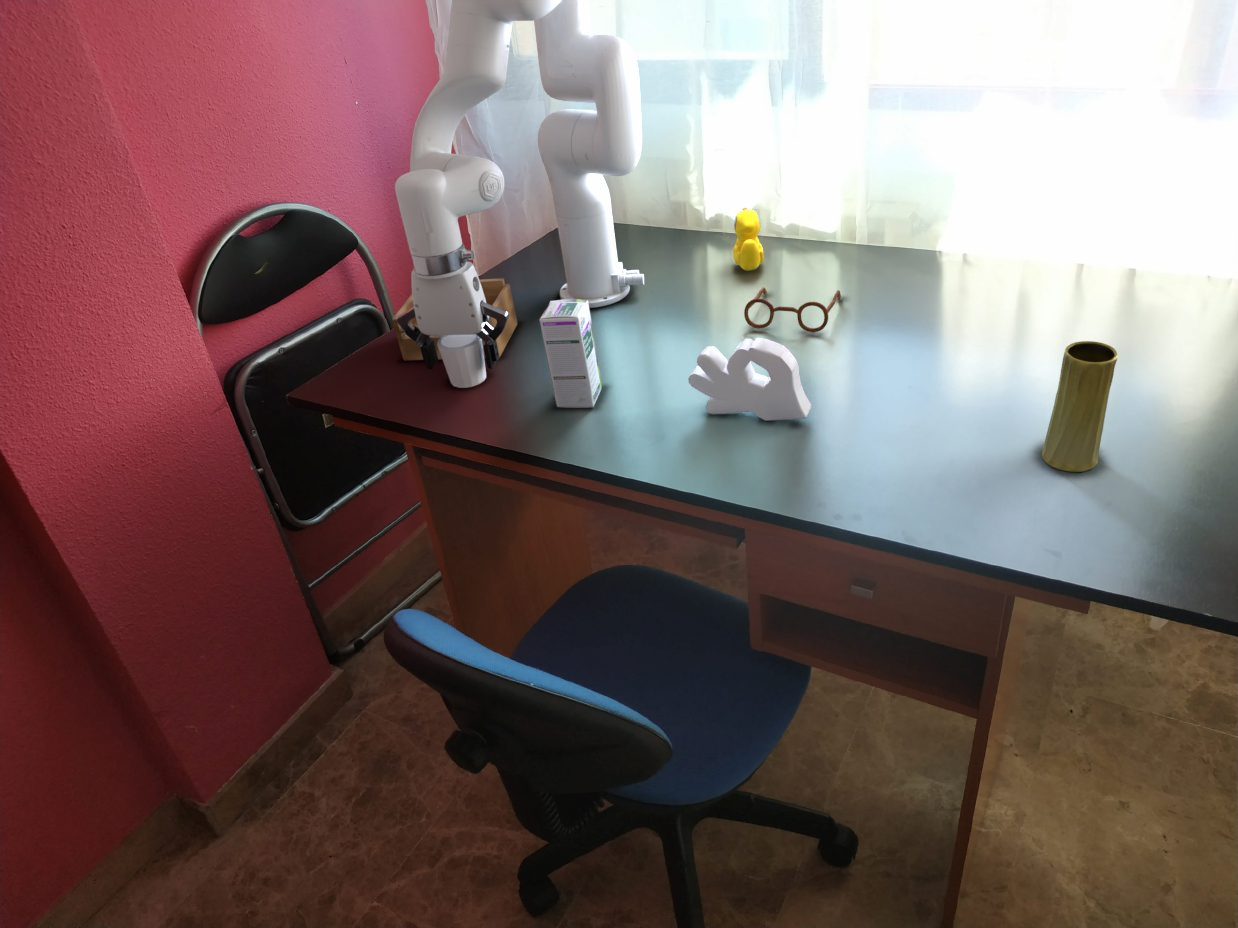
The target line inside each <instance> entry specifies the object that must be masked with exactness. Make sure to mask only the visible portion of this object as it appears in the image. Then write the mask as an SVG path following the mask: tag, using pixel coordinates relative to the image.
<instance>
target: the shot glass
mask: <svg viewBox="0 0 1238 928" xmlns="http://www.w3.org/2000/svg"><path fill="white" fill-rule="evenodd" d="M437 346H438V349H439V351H440V354H441V357H442V359H441V360H442V362H443V365H444V367H445V371H446V374H447V376H448V379H449V382H450V384H451V385H452V386H453V387H456V388H458V389H467V388H472V387H475V386H478V385H480V384H482V383H483V382H485V380H486V379H487V371H486V370H487V369H486V360H485V358H484V353H483V345H482V339H481V338H480V337H479V336H477V335H476V334H471V335H444V336H442V337H440V339H439V340H438V341H437Z"/></svg>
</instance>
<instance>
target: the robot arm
mask: <svg viewBox="0 0 1238 928" xmlns="http://www.w3.org/2000/svg"><path fill="white" fill-rule="evenodd" d="M450 6H451V7H450V14H449V15H450V17H449V27H448V36H447V47H446V56H445V65H444V70H443V73H442V75H441V77H440V78H439V80H438V82H437V83H436V84H435V86H434V87H433V88H432V90H431V91H430V93H429V95H428V97H427V98H426V100H425V102H424V104H423V105H422V107H421V109H420V111H419V114H418V115H417V118H416V121H415V123H414V126H413V132H412V138H411V147H410V160H409V172H406V173H404V174H402V175H400V176H399V177H398V178H397V179H396V181H395V184H394V191H395V196H396V200H397V205H398V208H399V212H400V213H399V214H400V217H401V221H402V226H403V229H404V233H405V238H406V241H407V247H408V250H409V254H410V259H411V262H412V267H413V269H412V271H411V272H410V273H411V274H410V277H411V282H410V283H411V284H410V285H411V295H412V297H413V304H414V307H412V308H411V309H409V310H408V311H406V312H404V313H403V314H401V315H400V316H399V317H398V318H397V323H398V324H399V325H400V326H401V328H402V329H403V330H404V331H405V333H406V335H407V336H408V337H410V338H411V339H412V340H414V341H415V342H416V345H417V346H419V347H420V348H421V352H422V356H423V360H422V361H423V362H424V363H425V364H426V369H427V370H428V371H432V370H434V369H435V367H436V365H437V364H438V363H439V359H438V356H437V352H436V348H435V344H434V340H433V339H432V338H430V337H429V336H430V335H471V334H476V335H477V336H479V337H480V338H481V339H482V340H483V341H484V342H485V344H484V346H483V348H484V353H485V358H484V359H485V364H486V366H487V369H489V370H492V369H494V367H495V366H496V364H497V362H498V361H499V360H500V358H499V351H498V346H497V341H496V339H497V338H498V337H499V335H500V334H501V333H502V331H503V330H504V328H505V325H506V322H507V319H508V316H509V314H508V312H506V311H504V310H501V309H499V308H497V307H494V306H492V305H490V304H487V303H486V299H485V296H484V292H483V289H482V286H481V283H480V278H479V275H478V273H477V270H476V268H475V265H474V263H472V261H473V260H474V259H475V252H474V250H471V249H470V250H469V249H467V248H466V246H465V243H463V239H462V233H461V229H460V225H459V221H458V220H459V218H461V217H464V216H469V215H474V214H478V213H482V212H486V211H488V210H489V209H491V208H493V207H494V206H495V205H496V204H497V203H499V202H500V200H501V198H502V197H503V194H504V191H505V178H504V174H503V171H502V169H501V168H500V167H499V166H498V165H497V164H496V163H495V162H494V161H492V160H490V159H488V158H486V157H482V156H477V155H467V154H460V153H452V148H453V143H454V137H455V135H456V131H457V129H458V127H459V125H460V124H461V122H462V120H463V119H464V118H465V116H466V115H467V114H468V113H469V112H470V111H471V110H472V109H473V108H474V107H476V106H477V105H479V104H481V103H482V102H484V101H486V100H487V99H488V98H489V97H491V96H493V95H494V94H496V93H498V92H499V91H500V90H501V89H502V88H503V87H504V86H505V84H506V82H507V81H506V80H507V75H508V74H507V73H508V64H509V56H510V47H511V39H512V30H513V23H514V22H529V21H530V22H532V21H533V24H534V32H535V41H536V50H537V61H538V68H539V76H540V82H541V85H542V88H543V91H544V92H545V93H546V94H547V96H549V98H552V99H555V100H558V101H561V102H571V103H573V102H574V103H588V104H594V105H595V108H596V110H593V109H577V108H576V109H575V108H565V109H558V110H555V111H553V112H551V113H550V114H548V115H547V116H546V117H545V118H544V119H543V120H542V122H541V123H540V125H539V128H538V133H537V146H538V151H539V154H540V158H541V161H542V163H543V166H544V169H545V171H546V174H547V177H548V181H549V186H550V189H551V194H552V199H553V205H554V211H555V218H556V219H555V220H556V224H557V225H556V226H557V232H558V238H559V244H560V250H561V256H562V263H563V268H564V274H565V280H566V283H564V284H563V285H562V286H561V288H560V289H559V298H560V300H565V299H581V300H587V301H588V304H589V309H593V308H601V307H606V306H609V305H612V304H615V303H617V302H620V301H621V300H623V299H625V297H626V296H627V295H628V294H629V293H630V290H631V286H645V274H644V273H640V270H639V269H631V270H627V269H626V268H624V267H623V266H624V265H623V261H619V258H618V250H617V243H616V236H615V228H614V227H615V226H614V219H613V210H612V202H611V195H610V194H611V193H610V190H609V187H608V185H607V182H606V180H605V178H604V176H609V177H622V176H626V175H629V174H630V173H632V172H633V171H634V170H635V169H636V168H637V166H638V164H639V162H640V159H641V155H642V150H643V149H642V148H643V124H642V107H641V88H640V73H639V66H638V61H637V59H636V56H635V53H634V51H633V49H632V48H631V45H629V44H628V42H627V41H626V40H624V39H623V38H621V37H618V36H615V35H608V34H593V31H592V26H591V16H590V10H589V2H588V0H451V5H450ZM415 317H416V320H417V324H418V327H419V329H418V328H417V327H416V326H414V325H412V323H411V321H410V320H411V319H413V318H415ZM489 317H492V318H494V319H496V320H497V324H496V326H495V327H494V328H493V327H492V326H491V325H489V324H488V323H487V321H488V320H489Z"/></svg>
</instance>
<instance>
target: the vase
mask: <svg viewBox="0 0 1238 928" xmlns="http://www.w3.org/2000/svg"><path fill="white" fill-rule="evenodd" d="M1118 357H1119V356H1118V351H1117V350H1116V348H1114V347H1113V346H1112V345H1109V344H1107V343H1104V342H1100V341H1094V340H1083V341H1075V342H1072V343H1070V344H1069V345H1067V346H1066V347H1065V349H1064V353H1063V356H1062V361H1061V362H1062V363H1061V369H1060V373H1059V374H1060V375H1059V379H1058V386H1057V390H1056V393H1055V398H1054V404H1053V407H1052V412H1051V416H1050V418H1049V419H1050V420H1049V423H1048V427H1047V431H1046V435H1045V439H1044V444H1043V447H1042V448H1041V457H1042V459H1043V461H1044V462H1045V463H1046V464H1047V465H1049V466H1050V467H1051V468H1052V467H1053V468H1054V469H1057V470H1059V471H1064V472H1068V473H1070V472H1071V473H1081V472H1086V471H1090V470H1092V469H1094V468H1095V467H1096V466H1097V465H1098V463H1099V455H1100V454H1099V453H1100V448H1101V441H1102V436H1103V432H1104V426H1105V425H1104V424H1105V419H1106V412H1107V408H1108V402H1109V397H1110V391H1111V386H1112V384H1113V379H1114V373H1115V368H1116V365H1117V361H1118Z"/></svg>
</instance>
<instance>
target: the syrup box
mask: <svg viewBox="0 0 1238 928" xmlns="http://www.w3.org/2000/svg"><path fill="white" fill-rule="evenodd" d="M591 317H592V316H591V310H590V308H589V304H588V301H587V300H581V299H565V300H561V299H557V300H550V301H549V303H548V305H547V307H546V308H545V310H544V311H543V313H542V315H541V316H540V318H539V325H540V330H541V335H542V341H543V346H544V350H545V355H546V360H547V365H548V369H549V370H548V371H549V375H550V380H551V385H552V389H553V395H554V400H555V405H556V407H557V408H566V409H569V408H570V409H571V408H572V409H577V408H578V409H579V408H581V409H582V408H584V409H585V408H586V409H588V408H591V409H592V408H594V407H595V405H596V402H597V401H598V398H599V396H600V393H601V391H602V388H603V384H602V376H601V371H600V365H599V359H598V353H597V347H596V342H595V334H594V329H593V323H592V318H591Z"/></svg>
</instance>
